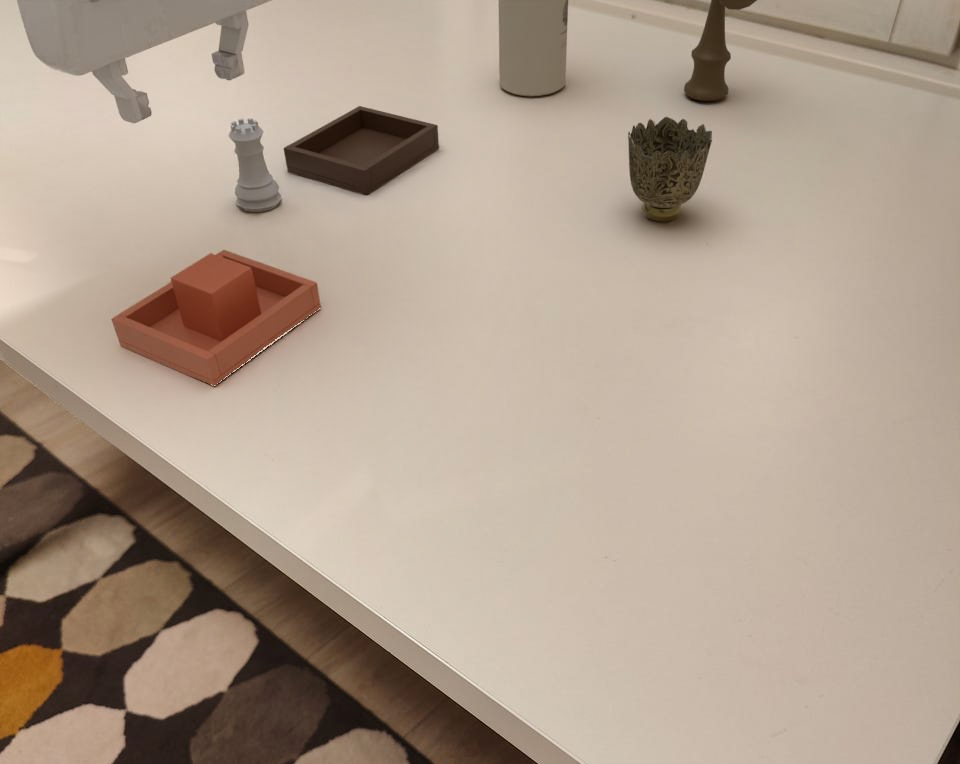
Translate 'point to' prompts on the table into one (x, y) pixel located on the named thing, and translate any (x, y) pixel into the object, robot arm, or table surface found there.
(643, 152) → the cup
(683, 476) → the table surface
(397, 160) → the walnut tray
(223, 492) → the table surface
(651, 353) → the table surface
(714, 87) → the kendama
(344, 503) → the table surface
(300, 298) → the terracotta tray
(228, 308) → the terracotta block
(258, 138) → the rook chess piece
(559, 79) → the travel mug
